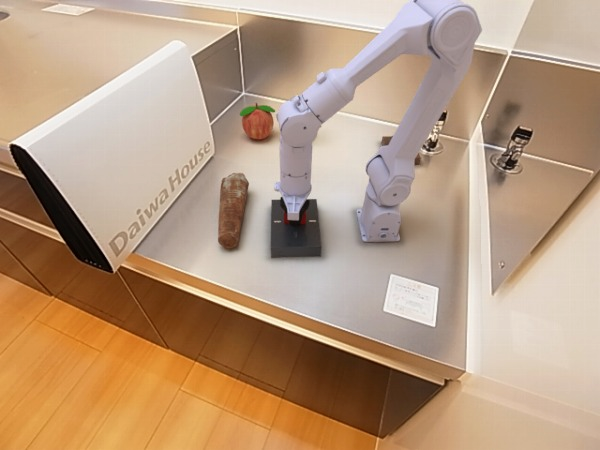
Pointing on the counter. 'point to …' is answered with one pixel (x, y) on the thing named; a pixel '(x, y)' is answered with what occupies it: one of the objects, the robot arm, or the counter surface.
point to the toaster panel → (295, 233)
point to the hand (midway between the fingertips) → (295, 220)
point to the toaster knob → (301, 220)
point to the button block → (387, 140)
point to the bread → (231, 208)
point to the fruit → (257, 121)
